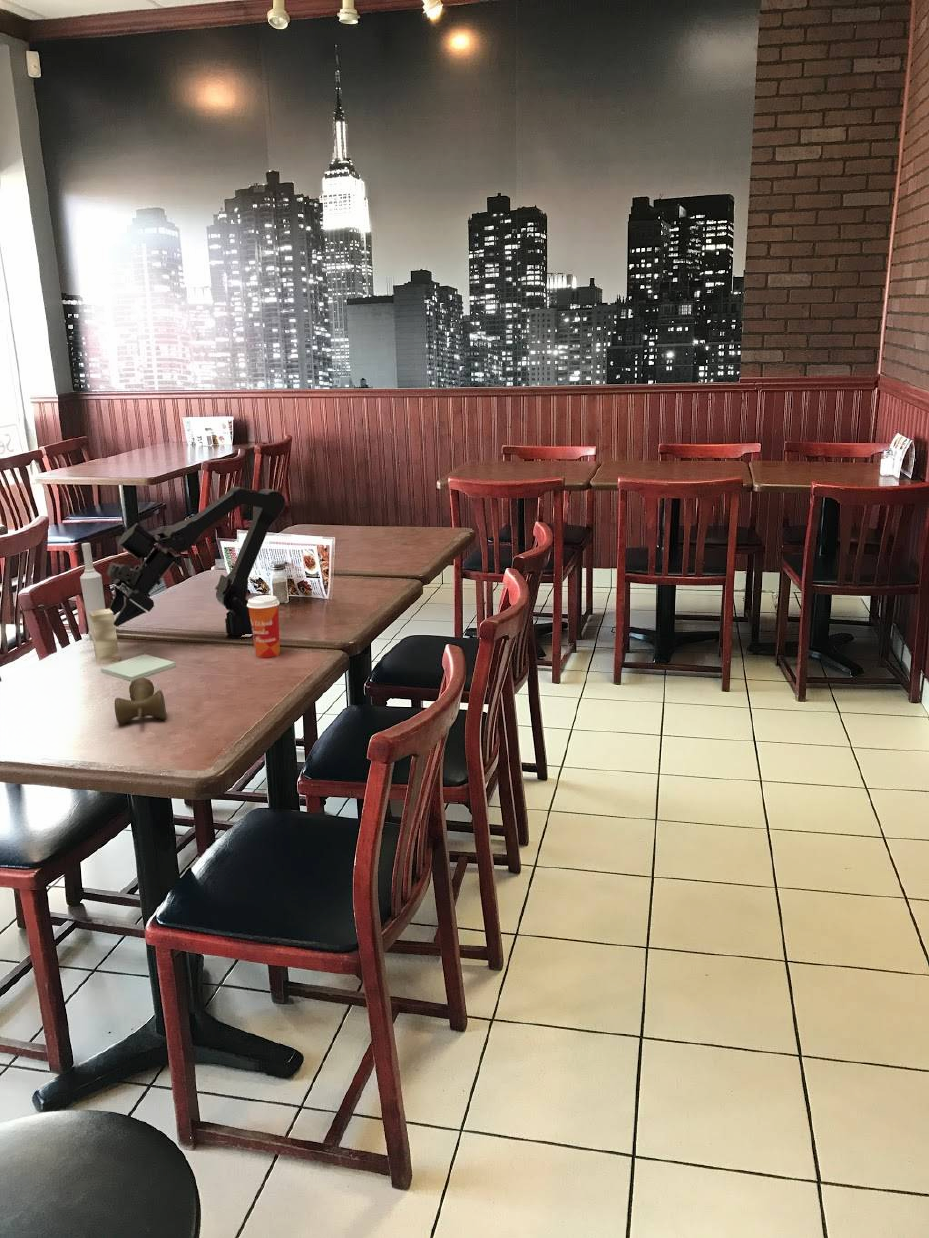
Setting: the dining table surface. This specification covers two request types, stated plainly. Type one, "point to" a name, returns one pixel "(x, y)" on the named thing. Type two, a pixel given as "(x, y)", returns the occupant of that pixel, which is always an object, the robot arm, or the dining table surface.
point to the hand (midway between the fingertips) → (111, 621)
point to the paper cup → (265, 625)
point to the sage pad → (138, 667)
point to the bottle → (91, 586)
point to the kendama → (140, 702)
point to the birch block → (104, 636)
